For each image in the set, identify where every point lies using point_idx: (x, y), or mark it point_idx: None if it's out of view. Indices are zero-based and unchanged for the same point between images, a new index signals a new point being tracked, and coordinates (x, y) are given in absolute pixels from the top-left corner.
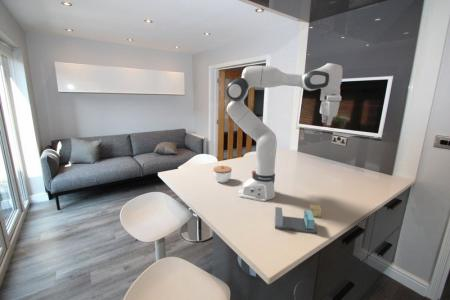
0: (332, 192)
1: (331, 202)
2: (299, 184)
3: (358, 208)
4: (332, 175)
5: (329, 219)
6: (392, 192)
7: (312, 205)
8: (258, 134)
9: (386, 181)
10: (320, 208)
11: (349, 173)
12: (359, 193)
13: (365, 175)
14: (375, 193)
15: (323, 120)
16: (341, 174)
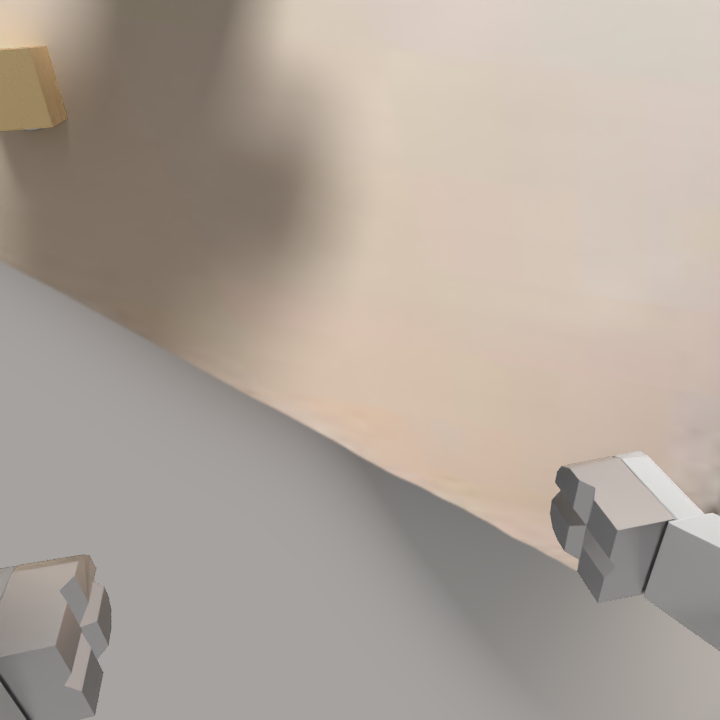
0: (415, 250)
1: (263, 223)
2: (516, 25)
3: (238, 348)
4: (687, 289)
5: (17, 177)
6: (472, 509)
7: (25, 73)
8: None
9: None
10: (6, 128)
11: (712, 384)
12: (432, 384)
13: (677, 450)
14: (447, 449)
15: (597, 525)
16: (700, 342)
